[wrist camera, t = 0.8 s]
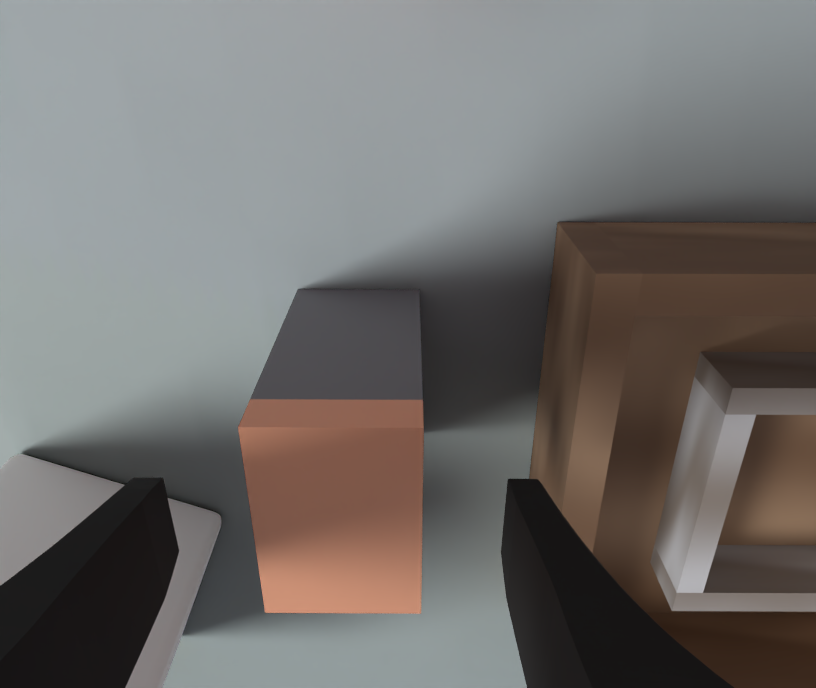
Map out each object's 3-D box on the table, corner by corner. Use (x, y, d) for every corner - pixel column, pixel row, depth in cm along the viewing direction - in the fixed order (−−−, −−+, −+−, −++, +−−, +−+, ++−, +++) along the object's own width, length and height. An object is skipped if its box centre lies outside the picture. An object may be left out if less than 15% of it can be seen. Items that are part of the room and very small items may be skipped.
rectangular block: (418, 433, 20) (420, 613, 14) (309, 432, 20) (265, 612, 14) (419, 289, 18) (423, 427, 12) (298, 289, 18) (238, 427, 12)
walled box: (909, 610, 24) (998, 713, 20) (514, 608, 24) (533, 710, 20) (1109, 223, 17) (1295, 275, 13) (557, 222, 17) (596, 273, 14)
